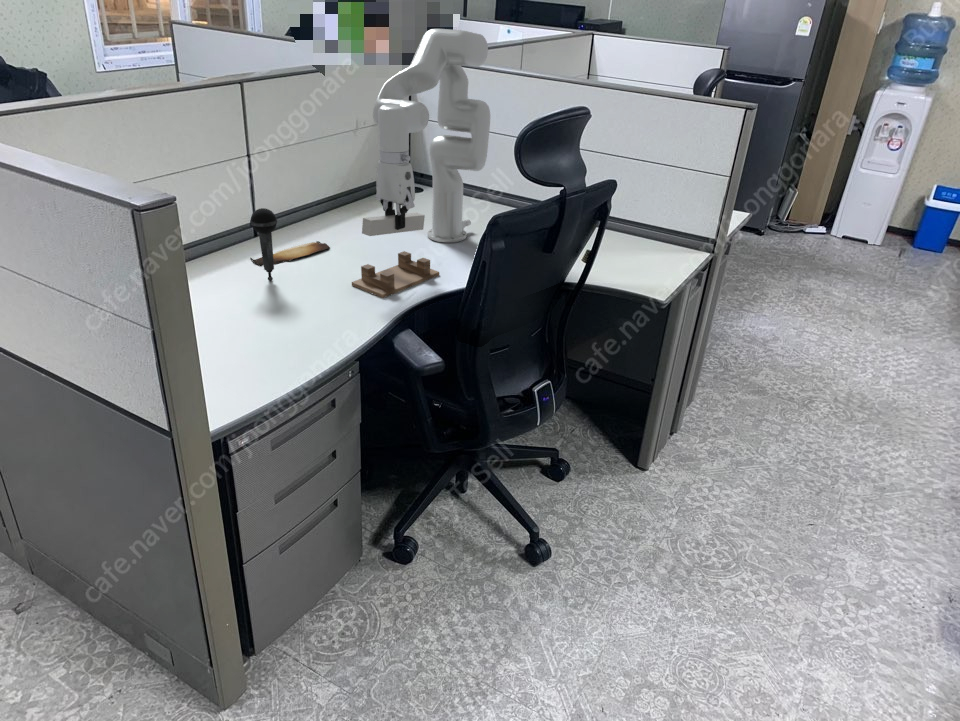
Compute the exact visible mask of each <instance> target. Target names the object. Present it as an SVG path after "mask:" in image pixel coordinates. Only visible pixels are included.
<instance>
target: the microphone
mask: <svg viewBox="0 0 960 721" xmlns="http://www.w3.org/2000/svg"><path fill="white" fill-rule="evenodd" d="M249 223H250V225H251V227H252V229H253V230H254V231H255V232H257V233H258V237H259V244H260V251H261V257H262V258H263V270H264V271H265V272H267V274H268V277H267V280H268V281H269V282H272V281H273V279H274V278H273V276H272V272H273V270H275V264H274V260H273V254H274V248H273V235H272V232H273V231H274V230H275V229H276V227H277V224H278V219H277V216H276V215H275V213H274V212H273V211H272V210H271V209H268V208H258V209H255V211H253V213H252V214H251V216H250V220H249Z"/></svg>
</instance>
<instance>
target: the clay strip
mask: <svg viewBox="0 0 960 721" xmlns="http://www.w3.org/2000/svg"><path fill="white" fill-rule="evenodd" d="M395 215H396V214H395ZM395 215H389V216H385V215H378V216H369V217H363V218H362V225H361V226H362V227H361V229H362V230H361V234H363V235H365V236H369V237H375V236H381V235H384V236H385V235H391V234H399V233H406V232H407V233H408V232H416V231H423V230H424V226H425V224H424V223H425V218H426V216H425V214H422V213H419V212H412V213H411V212H409V213H406V214H405V228H402V229H399V230H396V229H395Z"/></svg>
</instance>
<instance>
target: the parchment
mask: <svg viewBox="0 0 960 721" xmlns="http://www.w3.org/2000/svg"><path fill="white" fill-rule="evenodd" d="M327 249H331V247H330V246H329V245H328V244H327V243H325V242H324V243H321V242H320V241H317V240H316V241H315V242H309V243H303V244H301V245H295V246H291V247H288V248H284V249H282V250H278V251H276V252H274V253H273V260H274V265H277V264H280V263H289V262H290V261H292V260H294V259H298V258H300V257H301V258H302V257H305V256H310V255H312V254H315V253H317V252H321V251H325V250H327ZM250 260H251V261H252V263H253V264H254V263H255V264H256V265H258V266H259V267H264V265H263V258H262V256H261V257H258V258H256V259H254V258H252V257H250Z"/></svg>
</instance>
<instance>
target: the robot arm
mask: <svg viewBox="0 0 960 721" xmlns="http://www.w3.org/2000/svg"><path fill="white" fill-rule="evenodd" d="M488 53H489V46H488V42H487V40H486V38H485V36H484V35H483V34H481V33H477V32H473V31H467V30H461V29H449V28H448V29H447V28H446V29H445V28H431V29H429V30H427V31H425V33H424V34H423V36H422V38H421V40H420V41H419V45H418V47H417V48H416V51H415V53H414V55H413V58H412V61H411V62H410V65H409V66H408V67H406V68H404V69H403V70H400V71H399V72H398V73H396V74H395V75H393V76H392V77H390V78H389V79H388V80H387V81H386V82H384V84H383V85H382V86H381V88H380V91H379V93H378V94H377V96H376V100H375V102H374V105H373V108H372V110H373V111H372V119H373V122H374V124H375V125H376V126H377V129H378V131H377V132H378V156H379V157H378V159H379V160H378V161H377V167H376V168H377V169H376V179H375V180H376V183H375V184H376V187H375V188H376V194H375V198H376V200H378V201H379V202H380V204H381V206H382V210H383V211H384V216H389V215H395V229H396V230H399V229H402V228H405V214H408V211H409V210H411V209H413V208H415V205H416V204H415V203H414V201H415V199H416V193H415V192H416V191H415V190H416V189H415V178H414V176H415V175H414V171H413V166H412V163H410V161H411V156H410V145H409V143H410V136H409V135H410V133H411V134H412V133H413V134H414V133H420V132H422V131H424V129H426V128H427V126H428V123H429V121H430V112H429V110H428V107H427V106H426V105H425V104H424V103H421V102H419V101H415V100H406V99H404V98H407V97H410V96H413V95H417V94H421V93H424V92H427V91H430V90H432V89H434V88H435V87H437V86H438V83H439V90H438V102H437V104H438V105H437V124H438V126H439V127H440V128H441V129H443V130H445V131H449V132H457V133H458V132H459V133H469V134H470V135H471V137H467V136H466V137H464V136H457V135H450V134H449V135H446V134H441V135H438V136H435V137H433V138H432V140H431V142H430V144H429V156H430V164H431V170H432V171H431V174H432V175H431V176H432V208H431V209H432V212H431V213H432V217H431V218H432V221H431V222H432V224H431V225H432V226H431V229H428V231H427V238H429V239H430V240H432V241H434V242H438V243H449V244H450V243H459V242H462V241H464V240H465V239H467V236H468V234H467V231H465V228H466V227H469V226H470V225H471V224H472V222H471V220H470V219H466V220H463V209H464V207H463V204H464V202H463V201H464V180H463V178H462V176H461V174H460V172H459V170H461V171H468V172H469V171H470V172H479V171H482V170H483V169H484V168H485V166H486V162H487V157H488V151H489V150H488V149H489V139H490V130H491V109H490V107H489V105H488V104H487V102H486V101H484V100H482V99H481V100H480V99H474V98H469V97H468V93H469V78H468V76H467V74H466V71H465V69H464V68H463V66H464V67H465V66H466V67H475V68H476V67H478V68H479V67H480V66H482V65H483V64H485V62H486V60H487V58H488ZM394 204H395V205H394ZM394 206H395V208H396V209H394Z"/></svg>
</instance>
